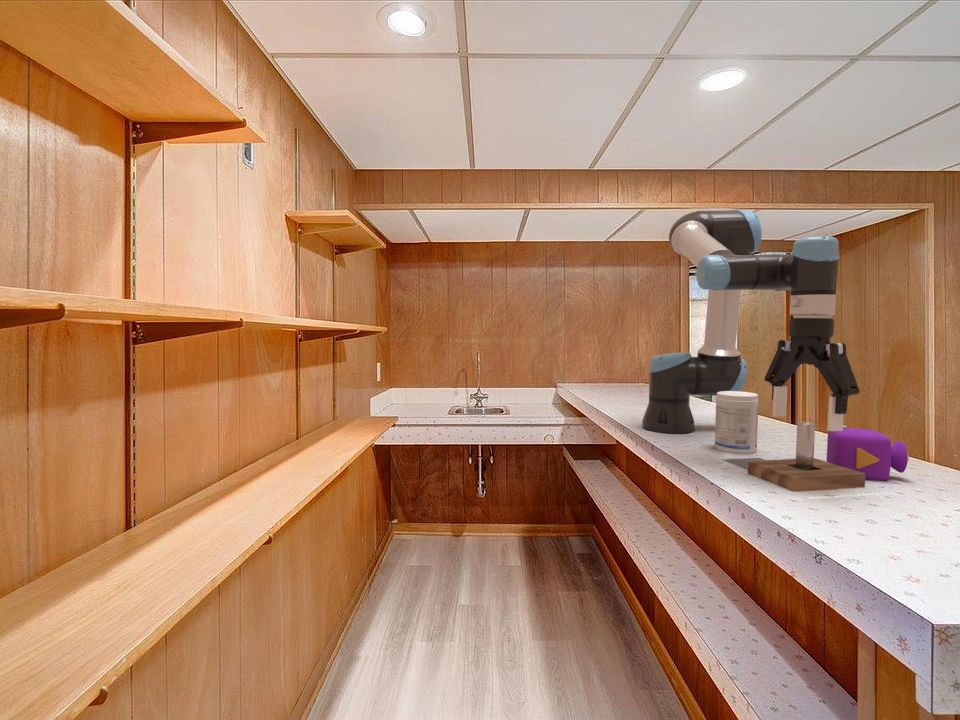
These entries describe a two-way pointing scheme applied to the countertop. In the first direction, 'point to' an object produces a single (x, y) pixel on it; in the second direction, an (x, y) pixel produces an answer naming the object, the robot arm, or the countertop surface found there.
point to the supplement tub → (736, 422)
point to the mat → (742, 461)
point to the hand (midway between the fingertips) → (805, 423)
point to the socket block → (806, 475)
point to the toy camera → (866, 452)
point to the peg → (805, 445)
